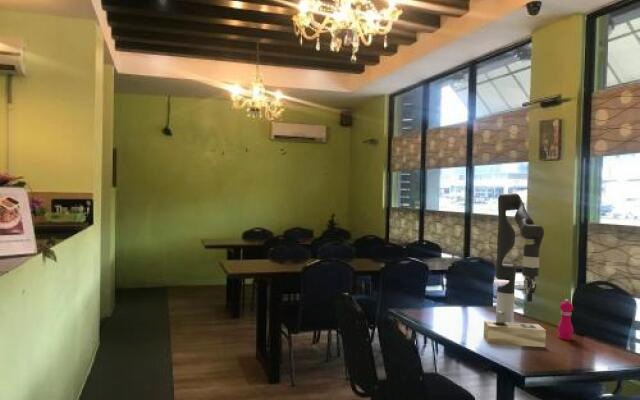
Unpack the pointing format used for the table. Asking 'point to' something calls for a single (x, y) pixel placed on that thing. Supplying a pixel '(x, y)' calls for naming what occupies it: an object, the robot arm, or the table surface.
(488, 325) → the collar block
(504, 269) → the robot arm
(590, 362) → the table surface
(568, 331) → the pepper mill
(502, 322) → the peg
